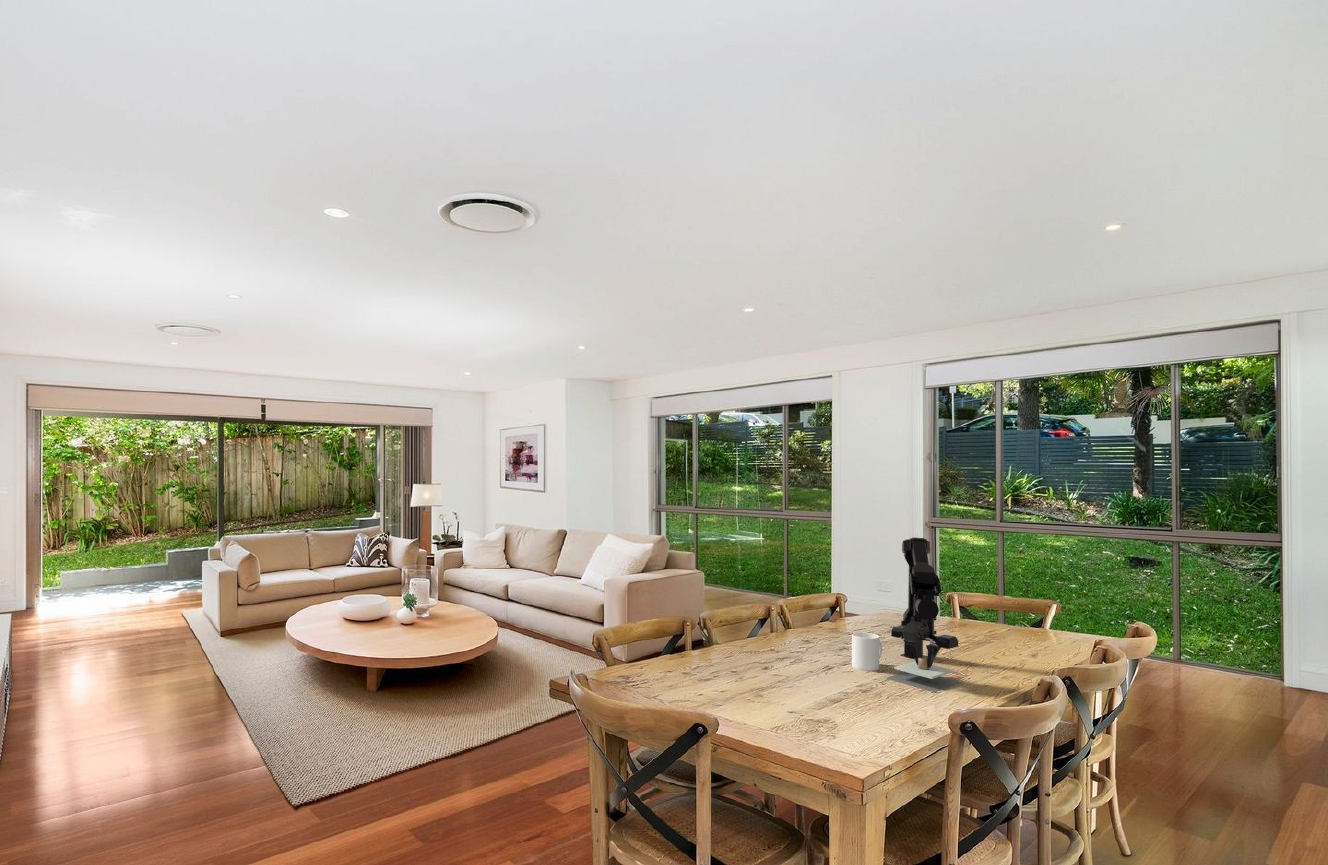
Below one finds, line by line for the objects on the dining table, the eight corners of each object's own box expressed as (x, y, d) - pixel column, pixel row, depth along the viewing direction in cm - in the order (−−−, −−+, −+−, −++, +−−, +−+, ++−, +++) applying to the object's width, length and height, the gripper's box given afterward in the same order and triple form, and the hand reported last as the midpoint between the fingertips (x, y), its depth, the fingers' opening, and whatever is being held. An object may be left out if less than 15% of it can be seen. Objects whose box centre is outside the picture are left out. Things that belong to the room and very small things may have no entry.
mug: (871, 662, 223) (871, 630, 224) (892, 668, 216) (892, 635, 217) (846, 667, 216) (846, 634, 217) (867, 673, 209) (867, 639, 210)
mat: (913, 670, 214) (913, 669, 214) (963, 683, 202) (963, 682, 202) (884, 679, 204) (884, 678, 204) (934, 693, 192) (934, 692, 192)
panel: (916, 662, 211) (916, 650, 212) (953, 672, 202) (953, 659, 202) (894, 668, 204) (894, 656, 204) (931, 678, 194) (931, 666, 195)
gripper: (880, 610, 206) (880, 663, 205) (939, 621, 192) (939, 678, 191) (901, 606, 213) (901, 657, 212) (959, 617, 199) (959, 672, 198)
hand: (923, 666), depth 203 cm, fingers closed on panel, 3 cm apart
